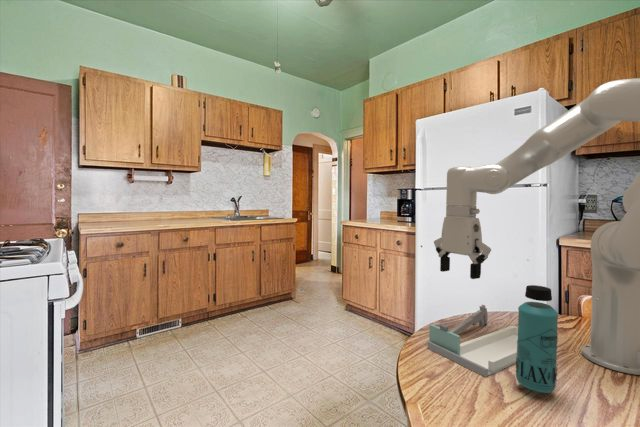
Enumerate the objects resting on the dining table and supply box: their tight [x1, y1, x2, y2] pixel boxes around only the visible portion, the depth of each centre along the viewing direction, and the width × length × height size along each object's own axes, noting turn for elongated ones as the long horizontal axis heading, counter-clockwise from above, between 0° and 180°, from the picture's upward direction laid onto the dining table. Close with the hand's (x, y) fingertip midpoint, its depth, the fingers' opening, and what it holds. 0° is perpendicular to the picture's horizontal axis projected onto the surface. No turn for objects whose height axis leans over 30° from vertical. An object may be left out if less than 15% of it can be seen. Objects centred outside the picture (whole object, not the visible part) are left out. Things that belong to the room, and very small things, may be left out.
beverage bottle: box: [515, 284, 559, 394], centre depth 59 cm, size 6×7×20 cm
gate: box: [428, 323, 461, 356], centre depth 75 cm, size 8×1×6 cm, turn 30°
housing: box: [426, 325, 518, 378], centre depth 78 cm, size 15×26×2 cm, turn 120°
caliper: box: [449, 304, 489, 335], centre depth 87 cm, size 20×1×6 cm, turn 124°
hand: (459, 274), depth 87 cm, fingers open, 9 cm apart
